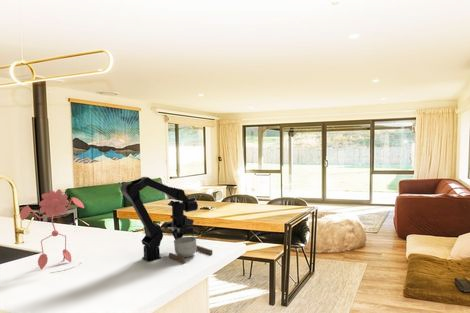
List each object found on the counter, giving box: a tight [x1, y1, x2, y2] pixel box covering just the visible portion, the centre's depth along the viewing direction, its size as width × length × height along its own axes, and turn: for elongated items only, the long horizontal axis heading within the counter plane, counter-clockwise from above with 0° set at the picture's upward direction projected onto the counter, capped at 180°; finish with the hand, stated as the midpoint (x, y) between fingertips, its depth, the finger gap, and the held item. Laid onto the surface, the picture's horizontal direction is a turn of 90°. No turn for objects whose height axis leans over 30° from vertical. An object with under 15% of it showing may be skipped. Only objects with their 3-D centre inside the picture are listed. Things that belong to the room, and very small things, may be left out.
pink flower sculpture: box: [19, 188, 85, 274], centre depth 154 cm, size 15×26×35 cm, turn 132°
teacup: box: [173, 235, 197, 258], centre depth 168 cm, size 14×11×8 cm
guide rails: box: [168, 244, 213, 264], centre depth 166 cm, size 17×12×2 cm
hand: (178, 244), depth 173 cm, fingers closed
